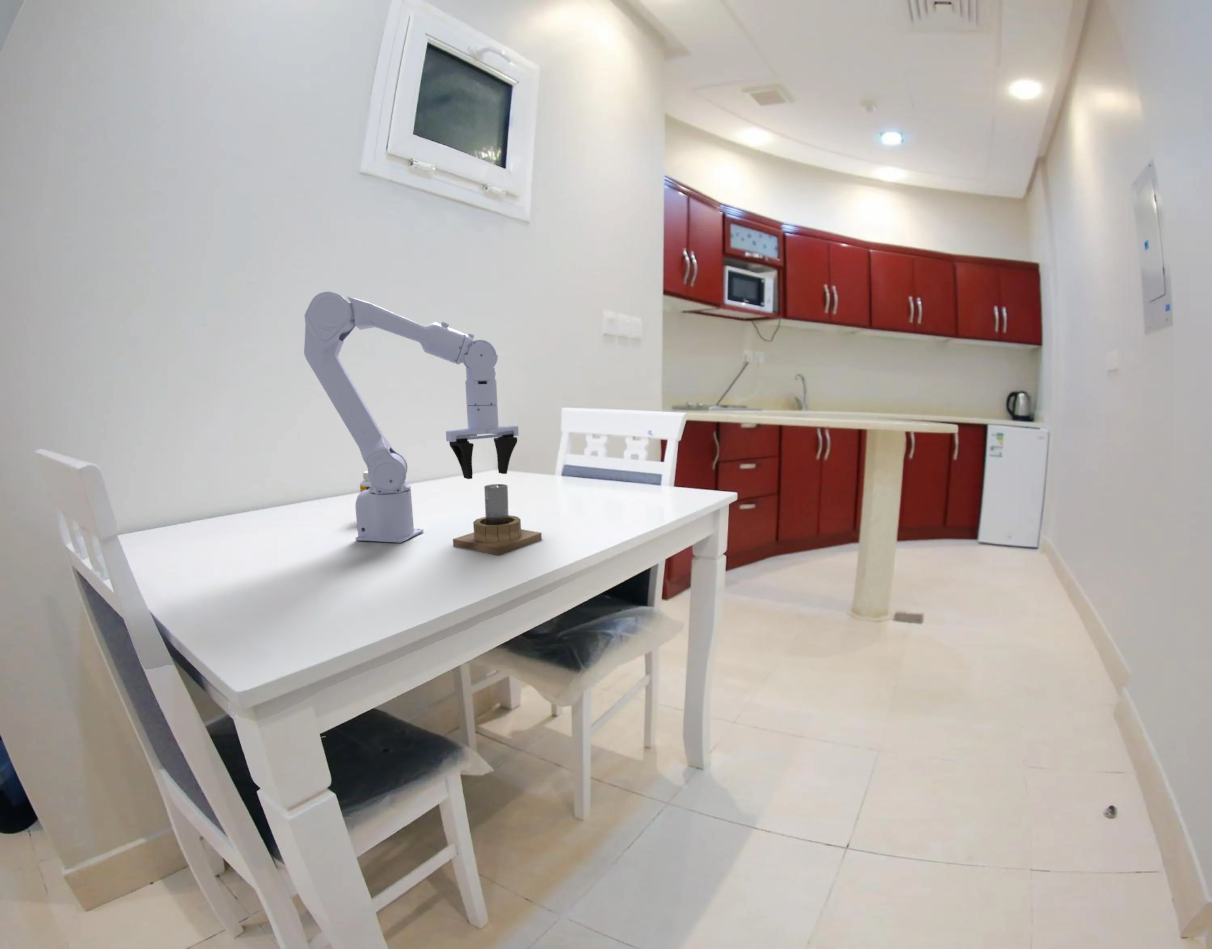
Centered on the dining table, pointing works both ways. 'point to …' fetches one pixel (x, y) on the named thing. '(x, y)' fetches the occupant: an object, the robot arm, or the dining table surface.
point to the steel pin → (496, 504)
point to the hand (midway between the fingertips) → (485, 475)
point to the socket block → (497, 537)
